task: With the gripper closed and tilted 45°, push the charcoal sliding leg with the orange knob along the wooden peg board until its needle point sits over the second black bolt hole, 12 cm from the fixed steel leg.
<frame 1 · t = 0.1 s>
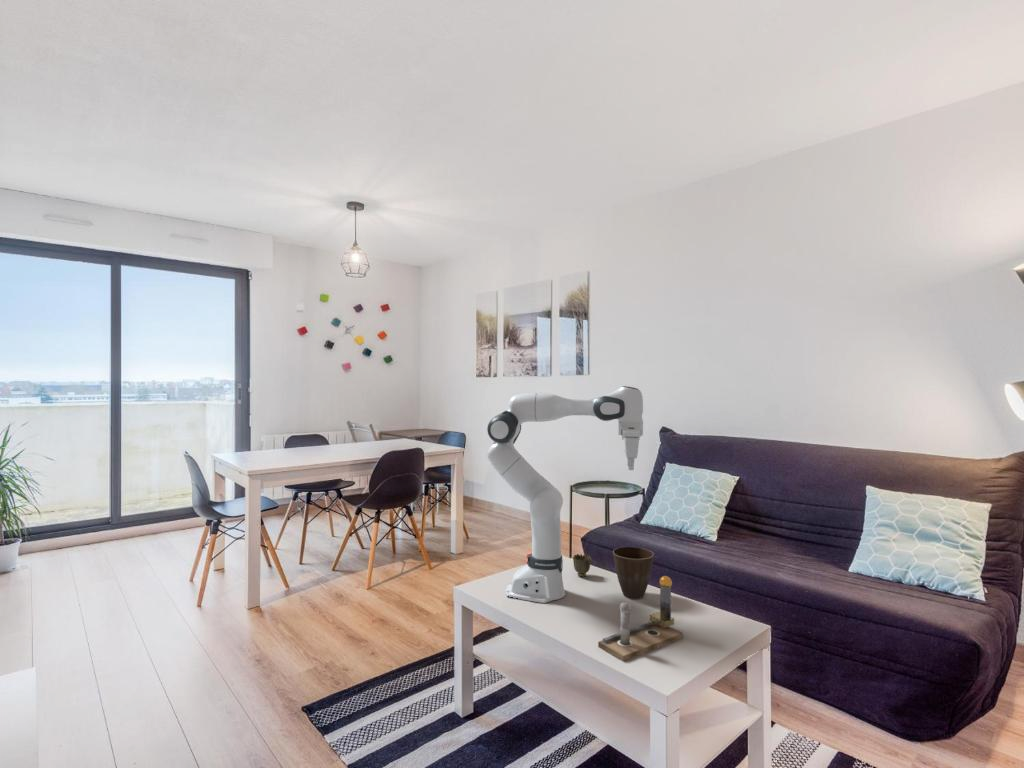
hand: (630, 468, 188), 48 cm above the table, tool pointing down, fingers open, 8 cm apart
plant pot: (633, 596, 191), on the table
sliding leg: (662, 600, 162), point 10 cm above the table, slide at 0.0 cm
cup: (581, 576, 212), on the table
wooden peg board: (641, 642, 155), on the table
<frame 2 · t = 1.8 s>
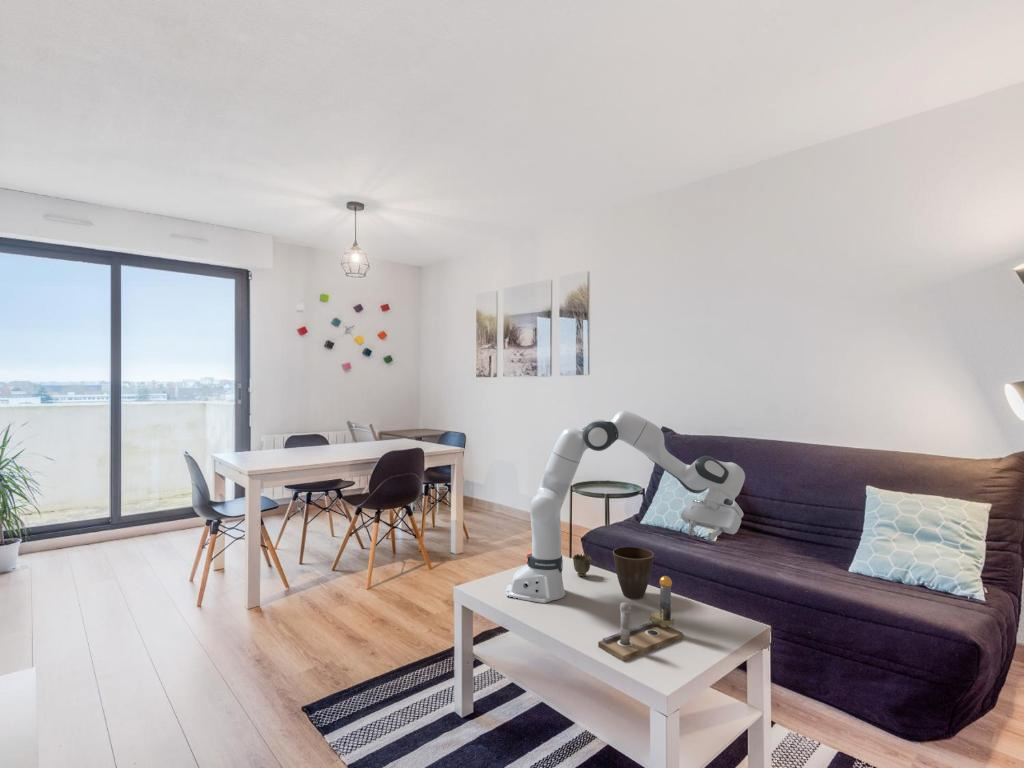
hand: (699, 536, 171), 28 cm above the table, tool tilted 45°, fingers open, 6 cm apart
nothing on the table moved.
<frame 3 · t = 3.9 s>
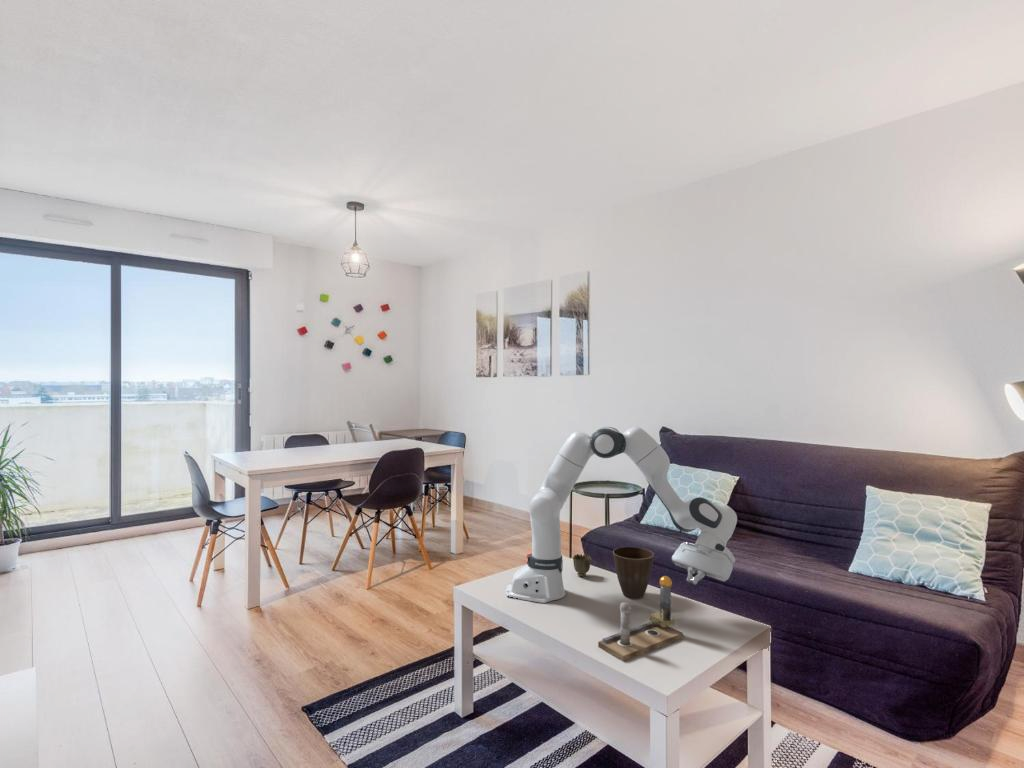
hand: (690, 582, 168), 13 cm above the table, tool tilted 45°, fingers closed
nothing on the table moved.
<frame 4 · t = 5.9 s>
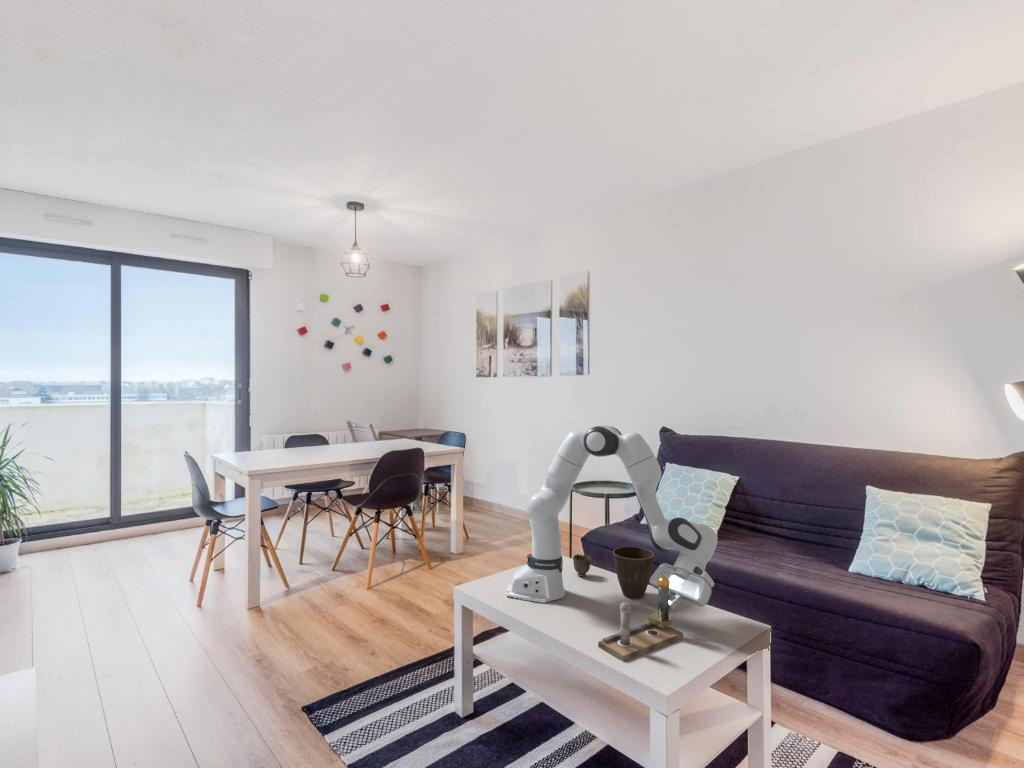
hand: (667, 607, 162), 8 cm above the table, tool tilted 45°, fingers closed, pressing on sliding leg
sliding leg: (660, 600, 162), point 10 cm above the table, slide at 1.0 cm, touching gripper
everything else where it was.
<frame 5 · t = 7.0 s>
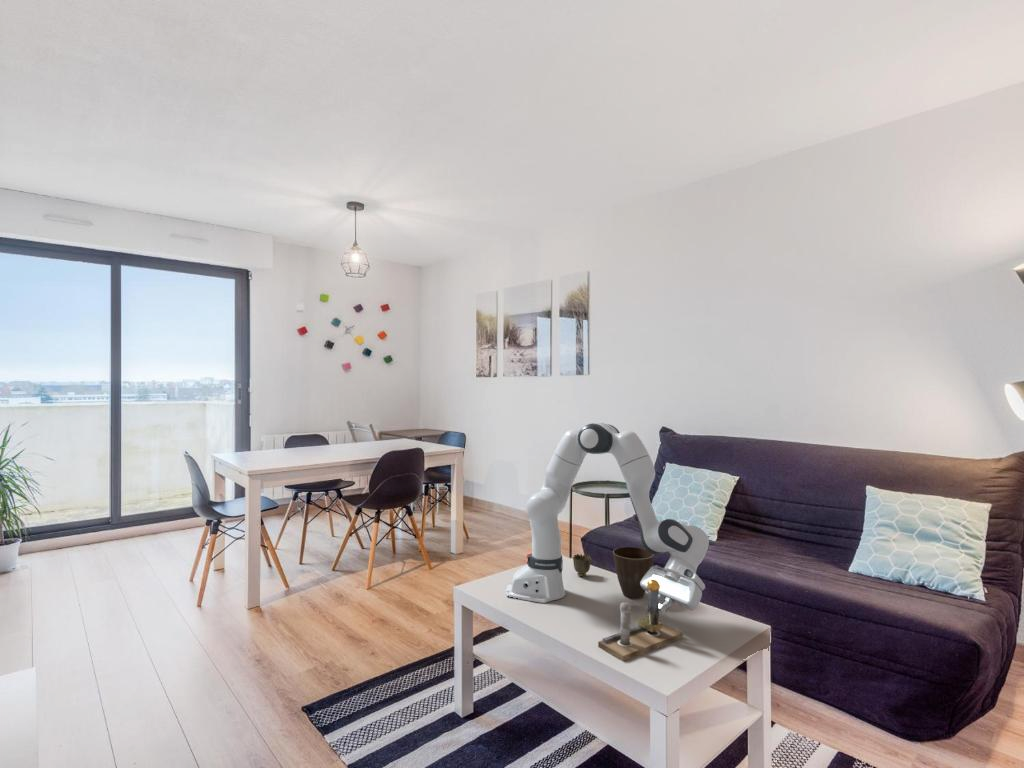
hand: (658, 610, 159), 8 cm above the table, tool tilted 45°, fingers closed, pressing on sliding leg
sliding leg: (650, 604, 159), point 10 cm above the table, slide at 5.7 cm, touching gripper
everything else where it was.
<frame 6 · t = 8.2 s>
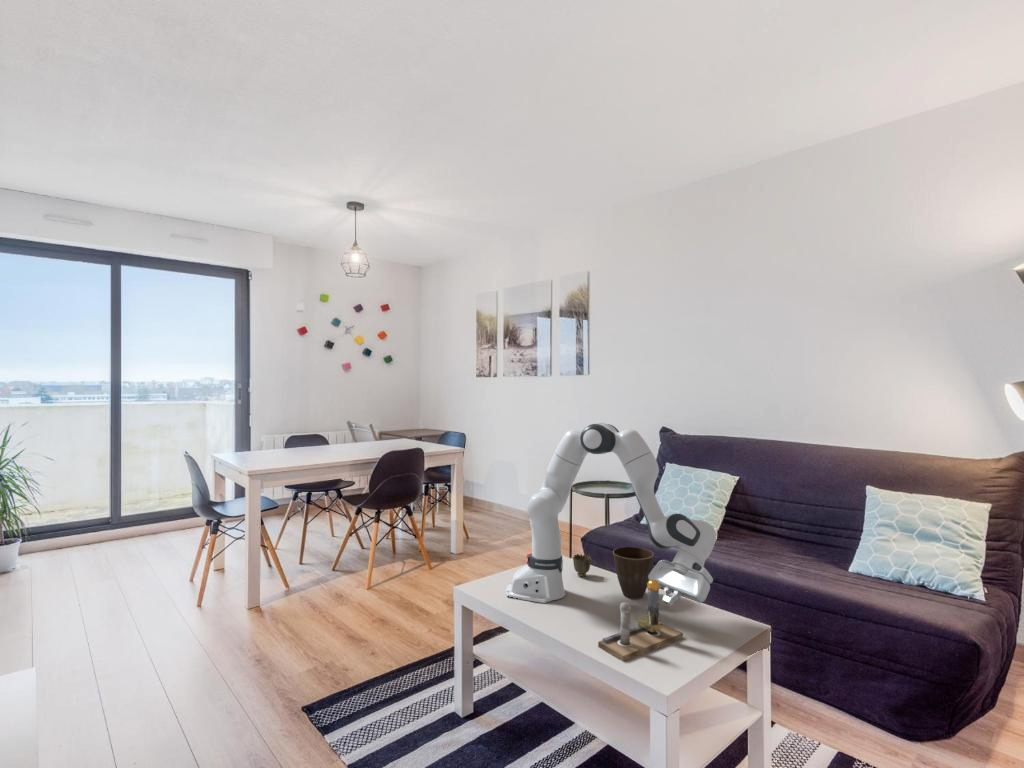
hand: (666, 603, 161), 9 cm above the table, tool tilted 45°, fingers closed
sliding leg: (649, 604, 159), point 10 cm above the table, slide at 5.8 cm
everything else where it was.
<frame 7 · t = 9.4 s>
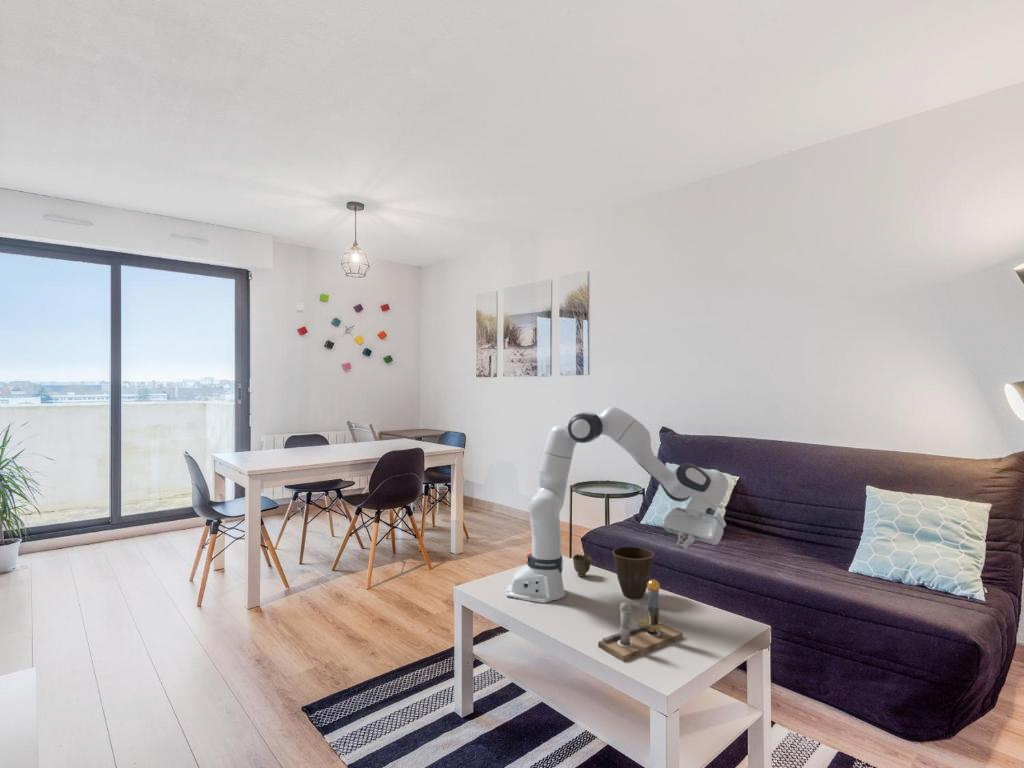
hand: (680, 546, 166), 26 cm above the table, tool tilted 45°, fingers closed
nothing on the table moved.
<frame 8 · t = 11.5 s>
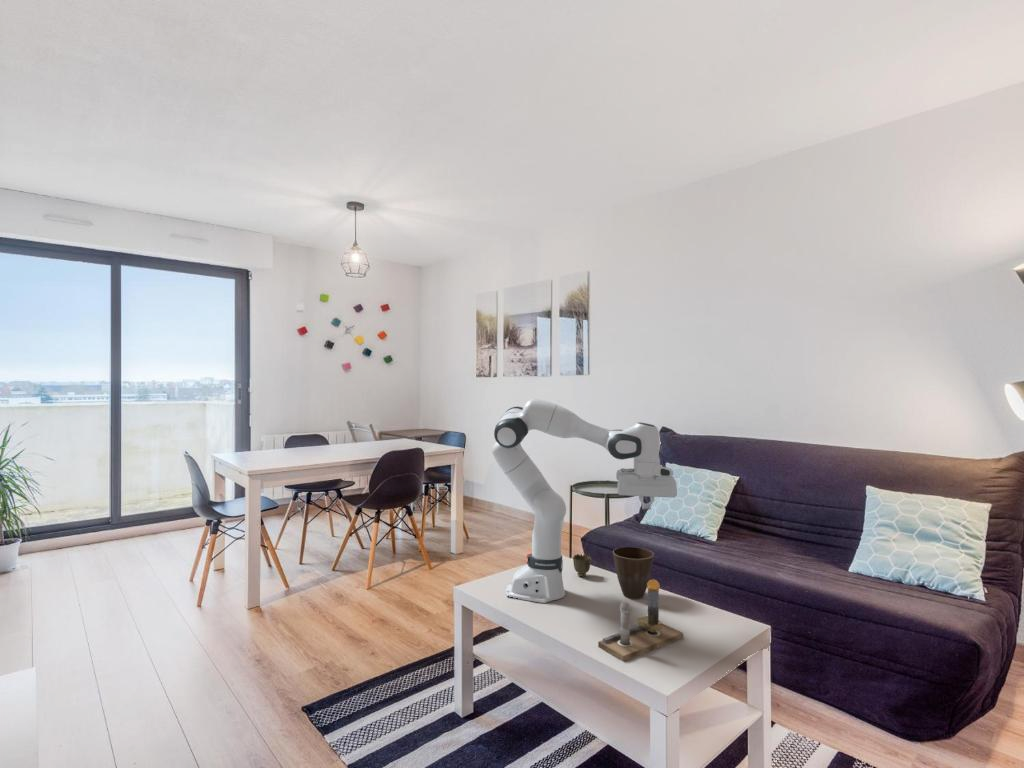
hand: (646, 509, 179), 35 cm above the table, tool pointing down, fingers closed
nothing on the table moved.
at the end: sliding leg slide at 5.8 cm; the gripper is holding nothing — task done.
